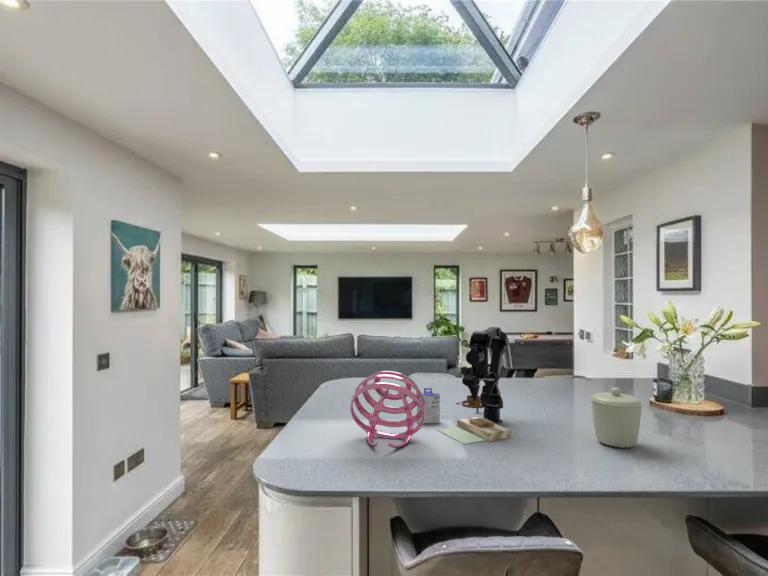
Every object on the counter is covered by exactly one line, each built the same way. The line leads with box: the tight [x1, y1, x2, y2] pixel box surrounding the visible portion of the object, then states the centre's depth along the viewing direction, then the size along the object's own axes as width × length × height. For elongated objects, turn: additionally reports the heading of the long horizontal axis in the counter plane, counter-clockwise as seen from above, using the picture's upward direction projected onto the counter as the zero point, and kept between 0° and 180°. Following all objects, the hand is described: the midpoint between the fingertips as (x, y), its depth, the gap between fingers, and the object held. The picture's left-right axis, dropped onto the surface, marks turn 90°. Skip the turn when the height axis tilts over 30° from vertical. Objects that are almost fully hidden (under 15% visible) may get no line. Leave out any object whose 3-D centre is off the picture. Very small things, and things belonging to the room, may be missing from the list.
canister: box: [589, 387, 645, 448], centre depth 158 cm, size 18×18×21 cm
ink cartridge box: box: [416, 387, 441, 424], centre depth 184 cm, size 10×6×14 cm, turn 90°
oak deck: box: [456, 416, 512, 442], centre depth 171 cm, size 11×20×3 cm, turn 26°
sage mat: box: [437, 426, 486, 445], centre depth 166 cm, size 10×18×1 cm, turn 26°
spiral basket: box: [349, 370, 425, 449], centre depth 157 cm, size 28×28×27 cm
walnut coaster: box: [470, 417, 494, 428], centre depth 171 cm, size 7×7×2 cm
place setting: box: [455, 394, 484, 414], centre depth 211 cm, size 18×20×6 cm
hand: (481, 399), depth 175 cm, fingers open, 9 cm apart
